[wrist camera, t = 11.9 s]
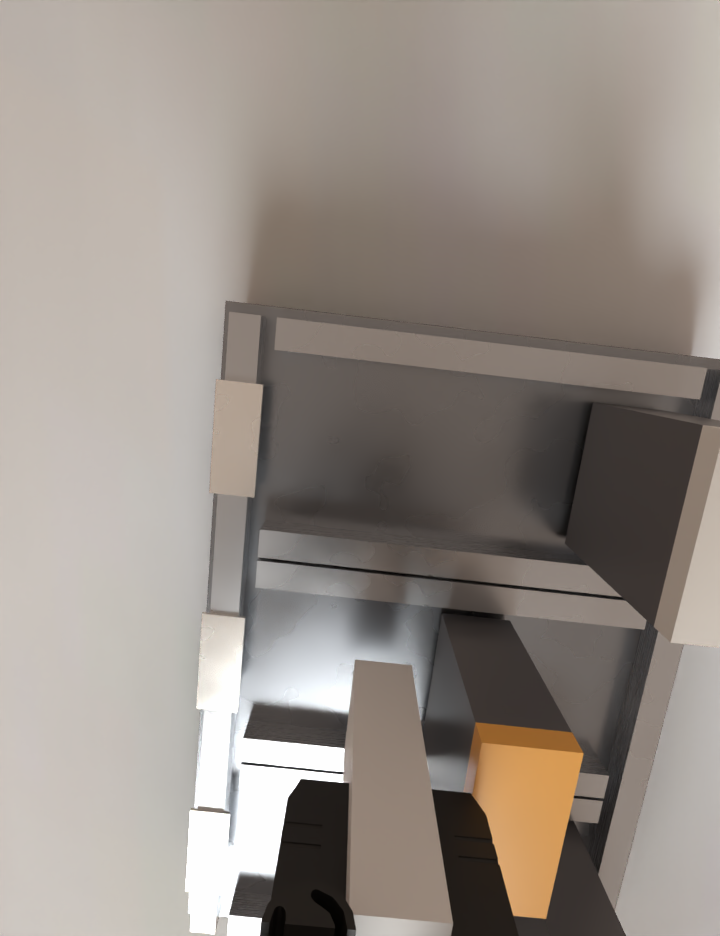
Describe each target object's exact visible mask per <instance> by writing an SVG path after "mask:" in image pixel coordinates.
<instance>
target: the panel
mask: <svg viewBox="0 0 720 936" xmlns="http://www.w3.org/2000/svg"><path fill="white" fill-rule="evenodd" d="M593 402H596V403H604V404H613V405H621V406H630V407H639V408H647V409H656V410H664V411H671V412H676V413H681V414H687V415H692V416H697V417H703V418H708V419H714V420H719V421H720V359H712V358H703V357H695V356H687V355H678V354H670V353H661V352H653V351H644V350H636V349H627V348H619V347H611V346H602V345H594V344H585V343H577V342H568V341H560V340H552V339H543V338H535V337H526V336H518V335H509V334H501V333H492V332H484V331H476V330H467V329H459V328H450V327H442V326H433V325H425V324H417V323H408V322H400V321H391V320H383V319H374V318H366V317H357V316H349V315H341V314H332V313H324V312H315V311H307V310H298V309H290V308H282V307H273V306H265V305H256V304H248V303H239V302H231V301H226V305H225V321H224V338H223V354H222V370H221V379H216V388H215V405H214V422H213V438H212V455H211V472H210V489H209V493H214V500H213V516H212V532H211V548H210V564H209V581H208V597H207V612H203V613H202V622H201V639H200V655H199V672H198V689H197V705H196V709H201V710H200V726H199V742H198V759H197V775H196V791H195V807H194V808H191V810H190V822H189V839H188V855H187V872H186V889H185V891H188V892H189V904H188V914H191V923H190V932H197V933H208V934H215V931H216V927H217V923H218V919H219V917H229V918H228V931H227V935H229V936H260V926H261V920H262V917H263V915H264V912H265V909H266V907H267V904H268V903H269V902H270V901H271V895H272V889H273V883H274V877H275V871H276V865H277V859H278V853H279V847H280V841H281V835H282V829H283V824H284V817H285V811H286V805H287V799H288V797H289V795H290V794H291V792H292V791H293V789H294V788H295V787H296V785H297V784H298V782H299V781H300V779H312V780H322V781H333V782H343V766H344V748H345V740H346V731H347V723H348V714H349V706H350V697H351V689H352V680H353V671H354V663H355V659H356V660H366V661H376V662H386V663H396V664H406V665H412V670H413V676H414V683H415V689H416V695H417V701H418V708H419V714H420V720H421V726H422V733H423V730H424V723H425V717H426V711H427V704H428V698H429V692H430V685H431V679H432V673H433V666H434V660H435V654H436V647H437V641H438V634H439V628H440V622H441V615H442V613H445V614H455V615H464V616H473V617H482V618H492V619H501V620H510V621H511V623H512V625H513V627H514V629H515V630H516V632H517V634H518V636H519V638H520V639H521V641H522V643H523V645H524V647H525V648H526V650H527V652H528V654H529V656H530V657H531V659H532V661H533V663H534V665H535V666H536V668H537V670H538V672H539V674H540V675H541V677H542V679H543V681H544V683H545V684H546V686H547V688H548V690H549V692H550V693H551V695H552V697H553V699H554V701H555V702H556V704H557V706H558V708H559V710H560V711H561V713H562V715H563V717H564V719H565V720H566V722H567V724H568V726H569V728H570V729H571V731H572V733H573V735H574V737H575V738H576V740H577V742H578V744H579V746H580V748H581V749H582V751H583V753H584V754H583V759H582V763H581V767H580V772H579V776H578V781H577V785H576V789H575V794H574V798H573V803H572V807H571V811H570V816H569V821H574V823H575V825H576V827H577V829H578V831H579V834H580V836H581V838H582V840H583V842H584V845H585V847H586V849H587V851H588V854H589V856H590V858H591V860H592V862H593V865H594V867H595V869H596V871H597V873H598V876H599V878H600V880H601V882H602V884H603V887H604V889H605V891H606V893H607V895H608V898H609V900H610V902H611V904H612V906H613V909H614V911H615V908H616V904H617V900H618V896H619V892H620V888H621V884H622V881H623V877H624V873H625V869H626V865H627V861H628V857H629V854H630V850H631V846H632V842H633V838H634V834H635V830H636V826H637V823H638V819H639V815H640V811H641V807H642V803H643V799H644V796H645V792H646V788H647V784H648V780H649V776H650V772H651V768H652V765H653V761H654V757H655V753H656V749H657V745H658V741H659V738H660V734H661V730H662V726H663V722H664V718H665V714H666V710H667V707H668V703H669V699H670V695H671V691H672V687H673V683H674V679H675V676H676V672H677V668H678V664H679V660H680V656H681V652H682V649H683V645H684V644H678V643H670V642H669V641H668V640H667V639H666V638H665V637H664V636H663V635H662V634H661V633H660V632H659V631H658V630H657V629H655V628H654V627H653V626H652V625H651V624H650V623H649V622H648V621H647V620H646V619H645V618H644V617H643V616H642V615H640V614H639V613H638V612H637V611H636V610H635V609H634V608H633V607H632V606H631V605H630V604H629V603H628V602H627V601H626V600H624V599H623V598H622V597H621V596H620V595H619V594H618V593H617V592H616V591H615V590H614V589H613V588H612V587H611V586H609V585H608V584H607V583H606V582H605V581H604V580H603V579H602V578H601V577H600V576H599V575H598V574H597V573H596V572H595V571H593V570H592V569H591V568H590V567H589V566H588V565H587V564H586V563H585V562H584V561H583V560H582V559H581V558H580V557H578V556H577V555H576V554H575V553H574V552H573V551H572V550H571V549H570V548H569V547H568V546H567V545H566V544H565V540H566V535H567V530H568V525H569V520H570V515H571V510H572V505H573V500H574V495H575V490H576V485H577V480H578V475H579V470H580V465H581V460H582V455H583V450H584V445H585V440H586V435H587V430H588V425H589V420H590V415H591V410H592V405H593ZM423 739H424V737H423ZM424 745H425V743H424ZM425 751H426V750H425ZM426 758H427V756H426ZM427 764H428V762H427ZM428 770H429V768H428ZM429 776H430V774H429ZM430 783H431V781H430ZM431 789H432V787H431Z"/></svg>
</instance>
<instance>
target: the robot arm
mask: <svg viewBox="0 0 720 936" xmlns="http://www.w3.org/2000/svg"><path fill="white" fill-rule="evenodd" d="M260 936H519V935H518V931H517V928H516V924H515V920H514V916H513V913H512V909H511V905H510V902H509V898H508V894H507V890H506V887H505V883H504V879H503V876H502V872H501V868H500V865H498V857H497V853H496V850H495V846H494V844H493V839H492V835H491V831H490V827H489V824H488V820H487V816H486V814H485V812H484V811H483V810H482V808H481V807H480V806H479V804H478V803H477V801H476V800H475V799H474V797H473V796H472V794H471V793H466V792H455V791H445V790H434V789H431V783H430V776H429V770H428V764H427V758H426V751H425V745H424V739H423V733H422V726H421V720H420V714H419V708H418V701H417V695H416V689H415V683H414V676H413V670H412V665H406V664H396V663H386V662H376V661H366V660H356V659H355V663H354V671H353V680H352V689H351V697H350V706H349V714H348V723H347V731H346V740H345V748H344V766H343V782H333V781H322V780H312V779H300V781H299V782H298V784H297V785H296V787H295V788H294V789H293V791H292V792H291V794H290V795H289V797H288V799H287V805H286V811H285V817H284V824H283V829H282V835H281V841H280V847H279V853H278V859H277V865H276V871H275V877H274V883H273V889H272V895H271V901H270V902H269V903H268V904H267V907H266V909H265V912H264V915H263V917H262V920H261V926H260Z"/></svg>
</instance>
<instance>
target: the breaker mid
mask: <svg viewBox="0 0 720 936" xmlns="http://www.w3.org/2000/svg"><path fill="white" fill-rule="evenodd" d="M423 737H424V743H425V750H426V756H427V762H428V768H429V774H430V781H431V787H432V789H434V790H445V791H455V792H466V793H471V794H472V796H473V797H474V799H475V800H476V801H477V803H478V804H479V806H480V807H481V808H482V810H483V811H484V812H485V814H486V816H487V820H488V824H489V827H490V831H491V835H492V839H493V844H494V846H495V850H496V853H497V857H498V865H500V868H501V872H502V876H503V879H504V883H505V887H506V890H507V894H508V898H509V902H510V905H511V909H512V913H513V916H520V917H531V918H541V919H546V917H547V912H548V908H549V904H550V899H551V895H552V890H553V886H554V882H555V877H556V873H557V868H558V864H559V860H560V855H561V851H562V846H563V842H564V838H565V833H566V829H567V824H568V820H569V816H570V811H571V807H572V803H573V798H574V794H575V789H576V785H577V781H578V776H579V772H580V767H581V763H582V759H583V754H584V753H583V751H582V749H581V748H580V746H579V744H578V742H577V740H576V738H575V737H574V735H573V733H572V731H571V729H570V728H569V726H568V724H567V722H566V720H565V719H564V717H563V715H562V713H561V711H560V710H559V708H558V706H557V704H556V702H555V701H554V699H553V697H552V695H551V693H550V692H549V690H548V688H547V686H546V684H545V683H544V681H543V679H542V677H541V675H540V674H539V672H538V670H537V668H536V666H535V665H534V663H533V661H532V659H531V657H530V656H529V654H528V652H527V650H526V648H525V647H524V645H523V643H522V641H521V639H520V638H519V636H518V634H517V632H516V630H515V629H514V627H513V625H512V623H511V621H510V620H501V619H492V618H482V617H473V616H464V615H455V614H445V613H442V615H441V622H440V628H439V634H438V641H437V647H436V654H435V660H434V666H433V673H432V679H431V685H430V692H429V698H428V704H427V711H426V717H425V723H424V730H423Z"/></svg>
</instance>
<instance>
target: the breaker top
mask: <svg viewBox="0 0 720 936" xmlns="http://www.w3.org/2000/svg"><path fill="white" fill-rule="evenodd" d="M565 544H566V545H567V546H568V547H569V548H570V549H571V550H572V551H573V552H574V553H575V554H576V555H577V556H578V557H580V558H581V559H582V560H583V561H584V562H585V563H586V564H587V565H588V566H589V567H590V568H591V569H592V570H593V571H595V572H596V573H597V574H598V575H599V576H600V577H601V578H602V579H603V580H604V581H605V582H606V583H607V584H608V585H609V586H611V587H612V588H613V589H614V590H615V591H616V592H617V593H618V594H619V595H620V596H621V597H622V598H623V599H624V600H626V601H627V602H628V603H629V604H630V605H631V606H632V607H633V608H634V609H635V610H636V611H637V612H638V613H639V614H640V615H642V616H643V617H644V618H645V619H646V620H647V621H648V622H649V623H650V624H651V625H652V626H653V627H654V628H655V629H657V630H658V631H659V632H660V633H661V634H662V635H663V636H664V637H665V638H666V639H667V640H668V641H669V642H670V643H678V644H688V645H697V646H706V647H716V648H720V421H719V420H714V419H708V418H703V417H697V416H692V415H687V414H681V413H676V412H671V411H664V410H656V409H647V408H639V407H630V406H621V405H613V404H604V403H596V402H593V405H592V410H591V415H590V420H589V425H588V430H587V435H586V440H585V445H584V450H583V455H582V460H581V465H580V470H579V475H578V480H577V485H576V490H575V495H574V500H573V505H572V510H571V515H570V520H569V525H568V530H567V535H566V540H565Z"/></svg>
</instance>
